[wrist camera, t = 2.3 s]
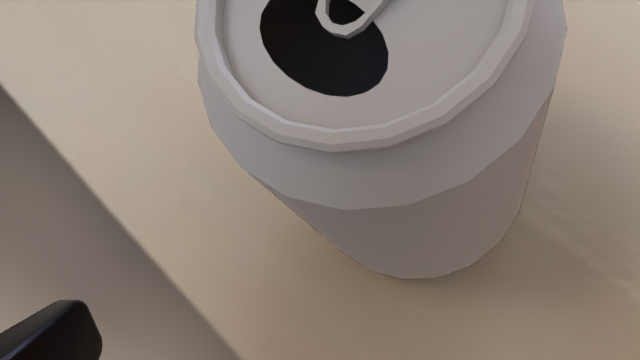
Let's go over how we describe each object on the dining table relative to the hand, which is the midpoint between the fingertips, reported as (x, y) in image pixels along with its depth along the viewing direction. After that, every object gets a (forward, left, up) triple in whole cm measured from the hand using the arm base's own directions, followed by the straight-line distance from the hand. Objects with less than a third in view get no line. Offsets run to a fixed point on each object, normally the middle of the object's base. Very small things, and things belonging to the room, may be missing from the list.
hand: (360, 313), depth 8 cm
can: (+6, 0, -12) cm, 13 cm away
